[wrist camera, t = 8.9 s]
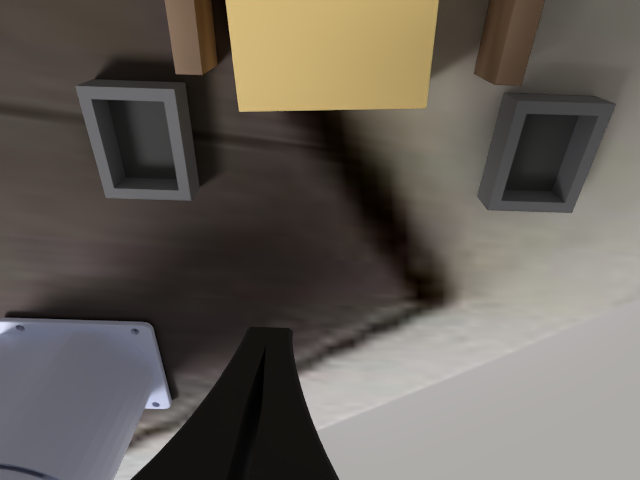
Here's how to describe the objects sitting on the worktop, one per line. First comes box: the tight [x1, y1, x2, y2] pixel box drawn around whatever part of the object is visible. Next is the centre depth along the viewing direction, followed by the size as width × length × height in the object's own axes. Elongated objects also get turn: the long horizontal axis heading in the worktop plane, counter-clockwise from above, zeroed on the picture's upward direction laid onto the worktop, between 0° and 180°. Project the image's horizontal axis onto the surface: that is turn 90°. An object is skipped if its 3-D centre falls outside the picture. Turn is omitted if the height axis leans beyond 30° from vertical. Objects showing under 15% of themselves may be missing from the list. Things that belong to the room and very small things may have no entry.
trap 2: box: [477, 93, 616, 213], centre depth 18 cm, size 4×5×2 cm
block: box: [225, 0, 439, 112], centre depth 15 cm, size 7×7×4 cm
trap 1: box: [75, 79, 200, 201], centre depth 18 cm, size 4×5×2 cm
